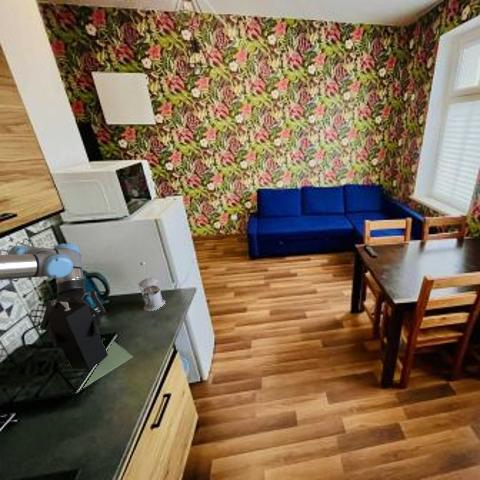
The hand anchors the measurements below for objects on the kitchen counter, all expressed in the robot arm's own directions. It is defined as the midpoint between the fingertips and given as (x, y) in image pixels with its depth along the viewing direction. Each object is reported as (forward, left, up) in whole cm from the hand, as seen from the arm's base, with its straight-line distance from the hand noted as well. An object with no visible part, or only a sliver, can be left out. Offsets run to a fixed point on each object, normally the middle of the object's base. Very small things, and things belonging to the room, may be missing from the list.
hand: (77, 340), depth 94 cm
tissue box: (-3, +1, -13) cm, 14 cm away
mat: (-3, +2, -14) cm, 15 cm away
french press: (-20, +34, -14) cm, 42 cm away
